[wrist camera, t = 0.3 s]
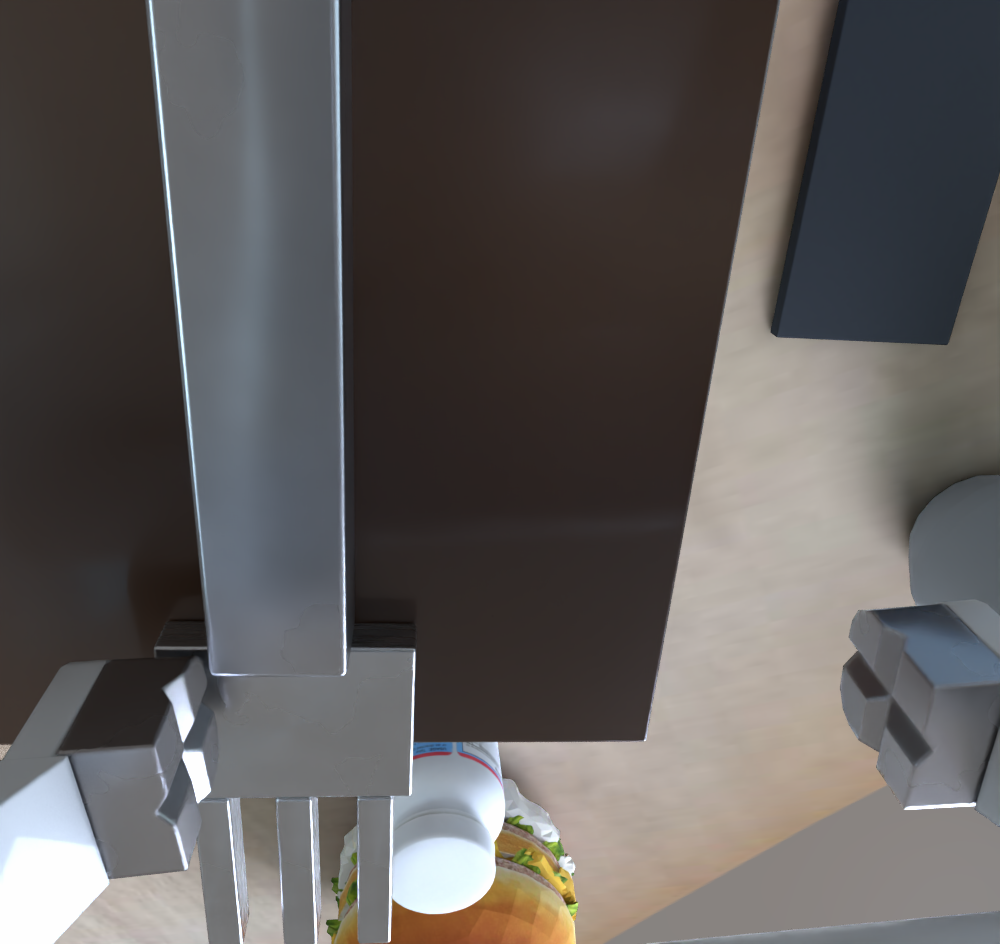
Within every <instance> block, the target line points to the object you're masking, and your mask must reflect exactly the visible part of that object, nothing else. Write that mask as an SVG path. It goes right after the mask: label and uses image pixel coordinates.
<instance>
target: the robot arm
mask: <svg viewBox="0 0 1000 944" xmlns="http://www.w3.org/2000/svg"><path fill="white" fill-rule="evenodd" d="M849 638H850V640H851V641H852V643H853V644H854V646H855V647H856V649H857V650H858V651H857V652H856V653H855V654H854V655H853V656H852V657H851V658H850V659H849V660H848V661H847V662H846V663H845V665H844V666H843V671H842V678H841V684H840V691H841V698H842V706H843V710H844V713H845V716H846V718H847V721H848V723H849V726H850V727H851V729H852V730H853V732H854V734H855V735H856V737H857V738H858V740H859V741H861V742H862V743H864V744H866V745H868V746H869V747H871V748H873V749H874V750H876V751H878V752H879V756H878V761H877V766H876V768H877V769H878V771H879V772H880V774H881V775H882V777H883V778H884V780H885V781H886V783H887V784H888V786H889V787H890V789H891V790H892V792H893V793H894V795H895V797H896V798H897V799H898V801H899V802H900V804H901V805H902V807H903V809H904V810H909V809H927V808H945V807H963V806H975V810H976V811H978V812H979V813H980V814H982V815H983V816H985V817H986V818H988V819H989V820H990V821H991V822H993V823H994V824H996V825H997V826H998V827H1000V616H999V615H998V614H997V613H996V612H995V611H994V610H993V609H992V608H991V607H990V606H989V605H988V604H986V603H983V602H981V601H978V600H975V599H974V600H963V601H953V602H943V603H936V604H935V605H923V606H910V607H896V608H883V609H870V610H858V612H857V614H856V615H855V617H854V618H853V620H852V624H851V629H850V633H849ZM207 684H208V682H207V678H206V674H205V670H204V667H203V663H202V661H201V660H200V659H199V658H198V657H197V656H196V655H194V656H173V657H152V658H131V659H113V660H112V661H111V660H97V661H82V662H70V663H68V664H66V665H64V666H62V667H61V668H60V669H59V670H58V672H57V674H56V675H55V677H54V678H53V680H52V682H51V683H50V685H49V686H48V688H47V690H46V691H45V693H44V694H43V696H42V698H41V699H40V701H39V702H38V704H37V706H36V707H35V709H34V710H33V712H32V714H31V715H30V717H29V718H28V720H27V722H26V723H25V725H24V726H23V728H22V729H21V731H20V733H19V734H18V736H17V737H16V739H15V741H14V742H13V744H12V745H11V747H10V749H9V750H8V752H7V753H6V755H5V757H4V758H3V760H0V944H53V943H54V942H55V941H56V940H57V939H58V938H59V937H60V936H61V935H62V934H63V932H64V931H65V930H66V929H67V928H68V927H69V926H70V925H71V924H72V923H73V922H74V921H75V920H76V919H77V918H78V916H79V915H80V914H81V913H82V912H83V911H84V910H85V909H86V908H87V907H88V906H89V905H90V904H91V903H92V902H93V900H94V899H95V898H96V897H97V896H98V895H99V894H100V893H101V892H102V891H103V890H104V889H105V888H106V887H107V886H108V884H109V880H108V879H115V878H124V877H133V876H142V875H151V874H159V873H168V872H177V871H186V870H187V869H188V866H189V863H190V859H191V856H192V853H193V850H194V846H195V843H196V840H197V837H198V833H199V830H200V827H201V824H202V820H201V816H200V811H199V807H198V803H199V802H200V801H201V800H202V799H203V798H204V797H205V796H207V795H208V794H209V793H210V792H211V790H212V787H213V783H214V779H215V776H216V772H217V763H218V753H219V740H218V728H217V723H216V718H215V713H214V711H212V710H211V709H210V708H209V707H208V706H207V705H205V704H204V703H203V702H202V698H203V695H204V692H205V689H206V687H207ZM645 944H1000V911H993V912H982V913H972V914H961V915H949V916H938V917H928V918H916V919H905V920H896V921H884V922H873V923H862V924H851V925H840V926H829V927H818V928H807V929H796V930H785V931H775V932H764V933H752V934H742V935H730V936H720V937H709V938H699V939H688V940H677V941H667V942H655V943H645Z"/></svg>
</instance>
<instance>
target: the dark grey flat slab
mask: <svg viewBox="0 0 1000 944" xmlns="http://www.w3.org/2000/svg"><path fill="white" fill-rule="evenodd" d="M999 173H1000V0H839V5H838V9H837V14H836V19H835V24H834V29H833V33H832V38H831V43H830V48H829V53H828V58H827V62H826V67H825V72H824V77H823V82H822V86H821V91H820V96H819V101H818V106H817V110H816V115H815V120H814V125H813V130H812V135H811V139H810V144H809V149H808V154H807V159H806V163H805V168H804V173H803V178H802V183H801V187H800V192H799V197H798V202H797V207H796V212H795V216H794V221H793V226H792V231H791V236H790V240H789V245H788V250H787V255H786V260H785V265H784V269H783V274H782V279H781V284H780V289H779V293H778V298H777V303H776V308H775V313H774V317H773V322H772V327H771V333H772V334H773V335H775V336H776V337H784V338H806V339H828V340H849V341H871V342H893V343H915V344H936V345H948V343H949V339H950V336H951V333H952V329H953V326H954V323H955V319H956V316H957V313H958V309H959V306H960V303H961V299H962V296H963V293H964V289H965V286H966V283H967V279H968V276H969V273H970V269H971V266H972V263H973V259H974V256H975V253H976V249H977V246H978V243H979V239H980V236H981V233H982V229H983V226H984V223H985V219H986V216H987V213H988V210H989V206H990V203H991V200H992V196H993V193H994V190H995V186H996V183H997V180H998V176H999Z"/></svg>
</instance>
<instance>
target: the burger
mask: <svg viewBox="0 0 1000 944" xmlns="http://www.w3.org/2000/svg"><path fill="white" fill-rule="evenodd" d="M502 781H503V789H504V799H505V817H504V822H503V825H502V828H501V831H500V833H499V835H498V837H497V838H496V840H495V841H494V845H495V867H496V871H495V877H494V881H493V883H492V885H491V887H490V889H489V890H488V891H487V892H486V894H485V895H484V896H483V897H482V898H481V899H479V900H478V901H477V902H475V903H473V904H472V905H470V906H468V907H466V908H464V909H461V910H458V911H454V912H450V913H443V914H426V913H420V912H416V911H413V910H410V909H407V908H405V907H403V906H401V905H400V904H398V903H397V902H396V901H394V900H393V899H392V922H391V940H390V942H388V943H369V944H576V941H575V927H574V922H573V921H574V920H575V919H576V912H577V908H578V902H576V901H575V893H574V886H573V880H572V876H573V875H574V873H573V872H574V869H575V864H574V862H573V860H572V859H571V858H570V856H569V855H568V854H565V855H566V857H564V856H563V855H564V850H563V847H562V844H561V843H560V840H561V839H560V830H558V829H557V828H556V827H555V826H554V825H553V823H552V820H551V818H550V817H549V814H548V813H547V812H546V811H545V810H544V809H543V808H542V807H541V806H539V805H537V804H536V803H533V802H531V801H528V800H527V799H526V798H525V797H524V796H523V795H522V794H520V793H519V790H518V787H517V786H516V783H515V782H514V781H513V780H511V779H505V778H502ZM344 843H345V847H344V849H343V850H342V852H341V854H340V861H341V867H340V872H339V876H338V878H332V880H331V882H332V883H333V887H332V890H333V891H334V892H335V893H336V894H337V895H338V896H336V901H337V903H338V908H339V914H338V919H336V920H327V922H326V925H328V926H329V927H328V930H327V933H328V934H329V935H330V936H331V937H332V944H360V943H359V942H358V901H357V825H356V826H355V827H354V828H353V829H352V830H351V831H350V832H349V833H348V834H347V835H345V836H344Z"/></svg>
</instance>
